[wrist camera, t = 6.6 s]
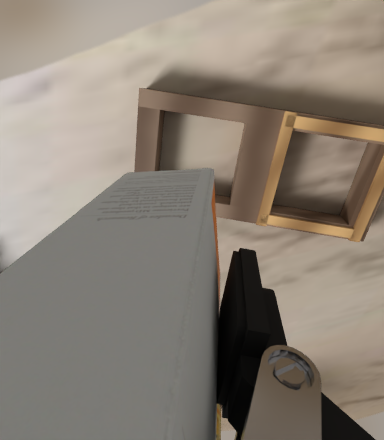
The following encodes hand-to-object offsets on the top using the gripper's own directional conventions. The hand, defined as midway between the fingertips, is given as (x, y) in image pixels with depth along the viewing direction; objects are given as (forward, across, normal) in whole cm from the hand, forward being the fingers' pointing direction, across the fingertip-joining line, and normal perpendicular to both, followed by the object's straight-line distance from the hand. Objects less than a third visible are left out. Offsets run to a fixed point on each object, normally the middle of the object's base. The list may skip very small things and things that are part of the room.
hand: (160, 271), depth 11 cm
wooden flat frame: (+21, -6, 0) cm, 22 cm away
